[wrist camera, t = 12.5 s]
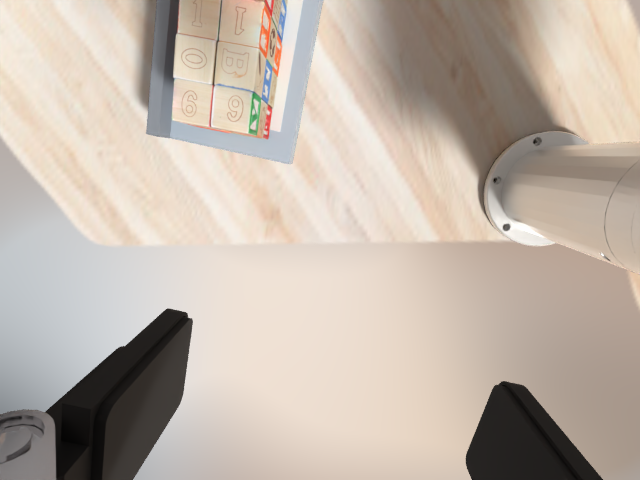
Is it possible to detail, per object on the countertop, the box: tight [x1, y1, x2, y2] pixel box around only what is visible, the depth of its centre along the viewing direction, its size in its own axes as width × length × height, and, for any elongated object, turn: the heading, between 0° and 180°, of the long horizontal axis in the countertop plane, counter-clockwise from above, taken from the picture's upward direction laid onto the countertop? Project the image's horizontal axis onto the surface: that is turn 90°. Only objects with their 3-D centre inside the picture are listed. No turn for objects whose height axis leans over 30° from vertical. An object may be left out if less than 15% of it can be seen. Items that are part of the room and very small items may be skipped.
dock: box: [146, 0, 323, 164], centre depth 32 cm, size 14×26×5 cm, turn 168°
